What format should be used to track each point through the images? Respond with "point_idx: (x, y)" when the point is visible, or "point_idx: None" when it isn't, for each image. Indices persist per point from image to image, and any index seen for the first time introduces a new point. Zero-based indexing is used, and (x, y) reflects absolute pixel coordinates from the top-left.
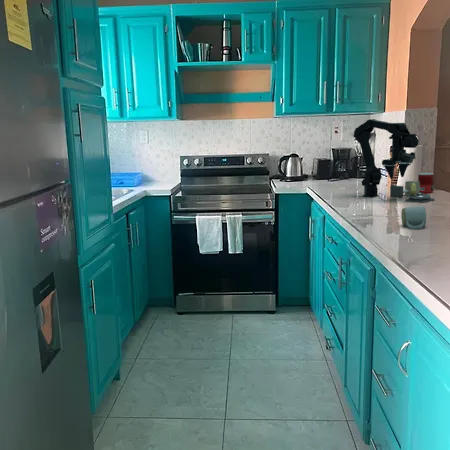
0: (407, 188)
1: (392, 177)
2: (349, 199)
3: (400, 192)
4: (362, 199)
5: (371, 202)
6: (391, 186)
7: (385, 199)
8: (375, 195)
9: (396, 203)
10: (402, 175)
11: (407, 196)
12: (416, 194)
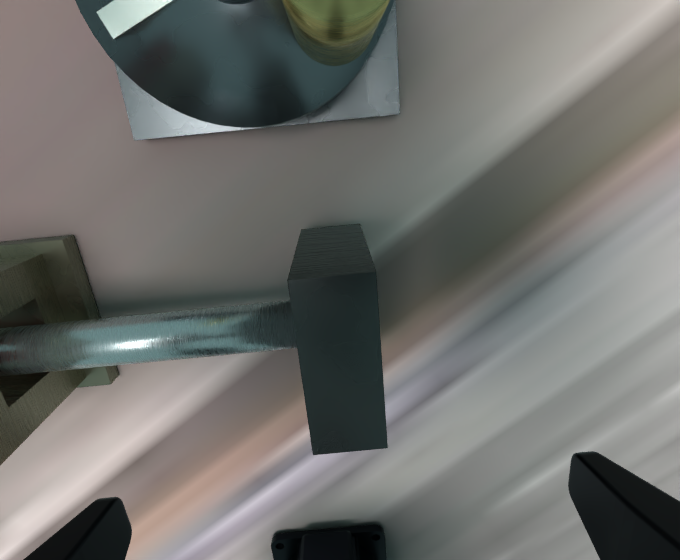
0: (23, 398)
1: (623, 470)
2: (595, 555)
3: (365, 242)
4: (539, 493)
5: (672, 324)
6: (385, 427)
7: (416, 359)
8: (333, 532)
9: (615, 67)
10: (102, 545)
11: None
12: (192, 65)
